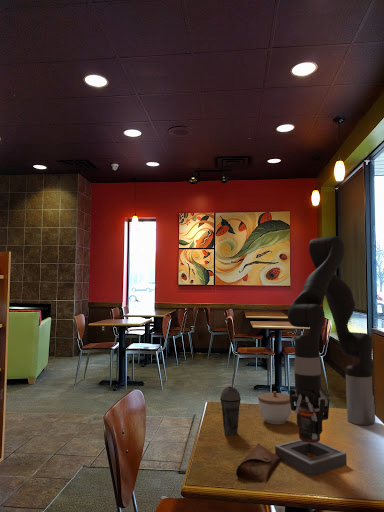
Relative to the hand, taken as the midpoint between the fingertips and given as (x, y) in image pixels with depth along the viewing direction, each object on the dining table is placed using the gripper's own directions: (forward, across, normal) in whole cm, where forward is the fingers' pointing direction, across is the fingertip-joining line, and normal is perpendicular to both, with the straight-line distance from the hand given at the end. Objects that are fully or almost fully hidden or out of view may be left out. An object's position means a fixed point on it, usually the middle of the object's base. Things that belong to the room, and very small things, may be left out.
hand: (309, 430), depth 114 cm
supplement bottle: (+3, 0, 0) cm, 3 cm away
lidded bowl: (+9, +32, -15) cm, 36 cm away
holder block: (+9, 0, 0) cm, 9 cm away
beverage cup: (+9, +30, +7) cm, 32 cm away
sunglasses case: (+9, +4, +15) cm, 18 cm away
